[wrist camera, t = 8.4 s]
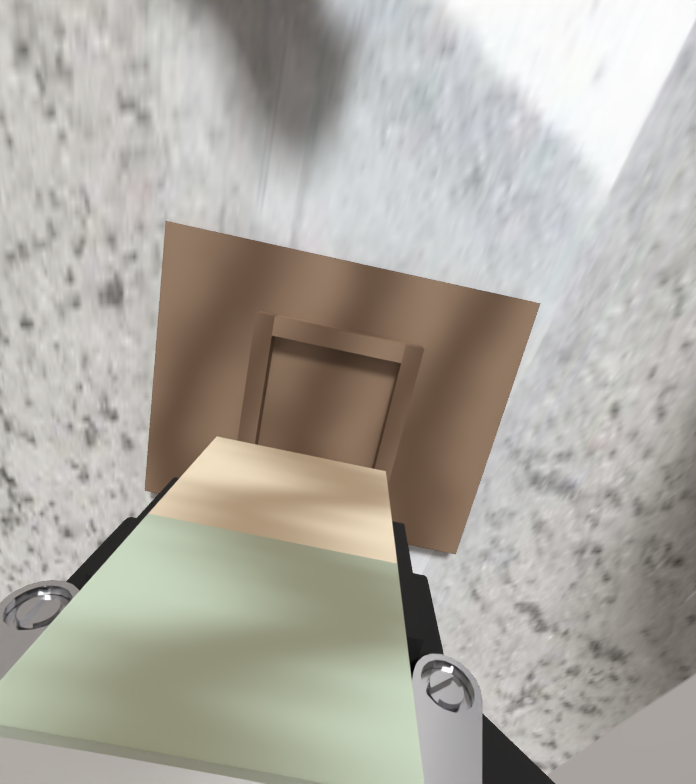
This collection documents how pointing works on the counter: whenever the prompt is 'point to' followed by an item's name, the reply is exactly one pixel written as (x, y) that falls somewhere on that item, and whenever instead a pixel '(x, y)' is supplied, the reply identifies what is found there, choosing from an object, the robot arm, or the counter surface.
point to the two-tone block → (240, 628)
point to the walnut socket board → (333, 370)
